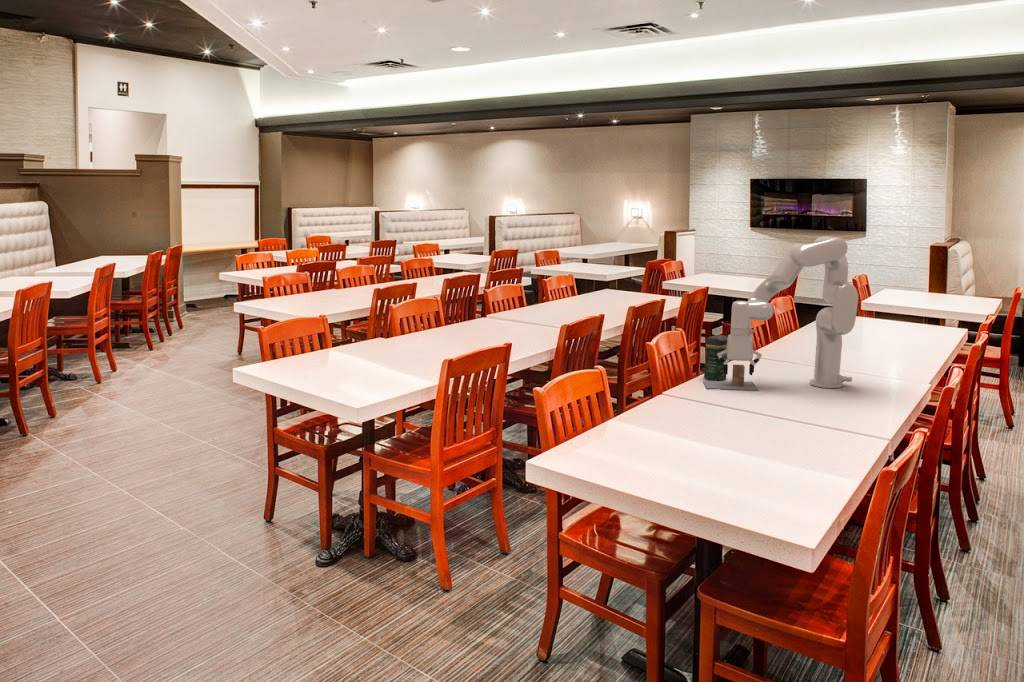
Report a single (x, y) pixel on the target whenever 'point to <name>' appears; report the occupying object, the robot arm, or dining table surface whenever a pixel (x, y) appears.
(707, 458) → the dining table surface
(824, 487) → the dining table surface
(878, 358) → the dining table surface
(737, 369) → the walnut block
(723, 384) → the rubber mat
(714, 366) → the coffee jar
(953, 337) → the dining table surface
